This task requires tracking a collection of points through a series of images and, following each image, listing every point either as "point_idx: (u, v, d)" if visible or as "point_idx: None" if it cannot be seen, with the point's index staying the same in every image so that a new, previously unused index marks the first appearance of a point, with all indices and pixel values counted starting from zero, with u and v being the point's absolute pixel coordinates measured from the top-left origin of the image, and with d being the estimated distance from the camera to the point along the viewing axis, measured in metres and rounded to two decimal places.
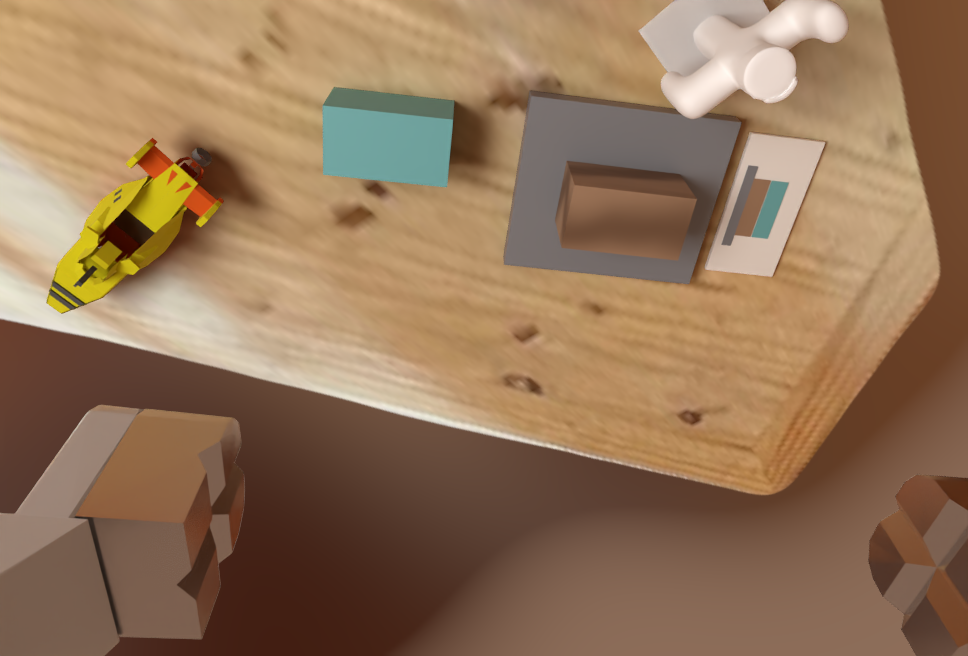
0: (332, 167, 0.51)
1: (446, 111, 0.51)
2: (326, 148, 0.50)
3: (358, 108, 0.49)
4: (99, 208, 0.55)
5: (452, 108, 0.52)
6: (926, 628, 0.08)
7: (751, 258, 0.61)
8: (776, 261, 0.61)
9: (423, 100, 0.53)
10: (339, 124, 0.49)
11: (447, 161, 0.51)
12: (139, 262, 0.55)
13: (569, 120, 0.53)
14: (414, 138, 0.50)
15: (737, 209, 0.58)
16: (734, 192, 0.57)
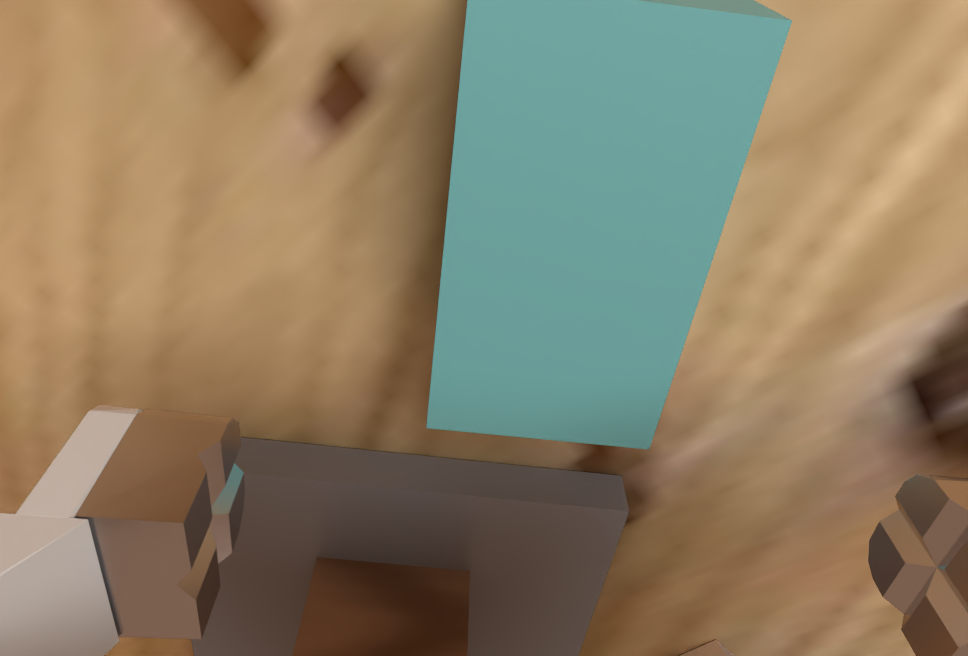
0: (504, 30, 0.11)
1: None
2: (595, 12, 0.11)
3: None
4: None
5: None
6: (926, 628, 0.08)
7: None
8: None
9: None
10: (695, 88, 0.11)
11: (515, 432, 0.16)
12: None
13: (564, 572, 0.23)
14: (603, 348, 0.14)
15: None
16: None
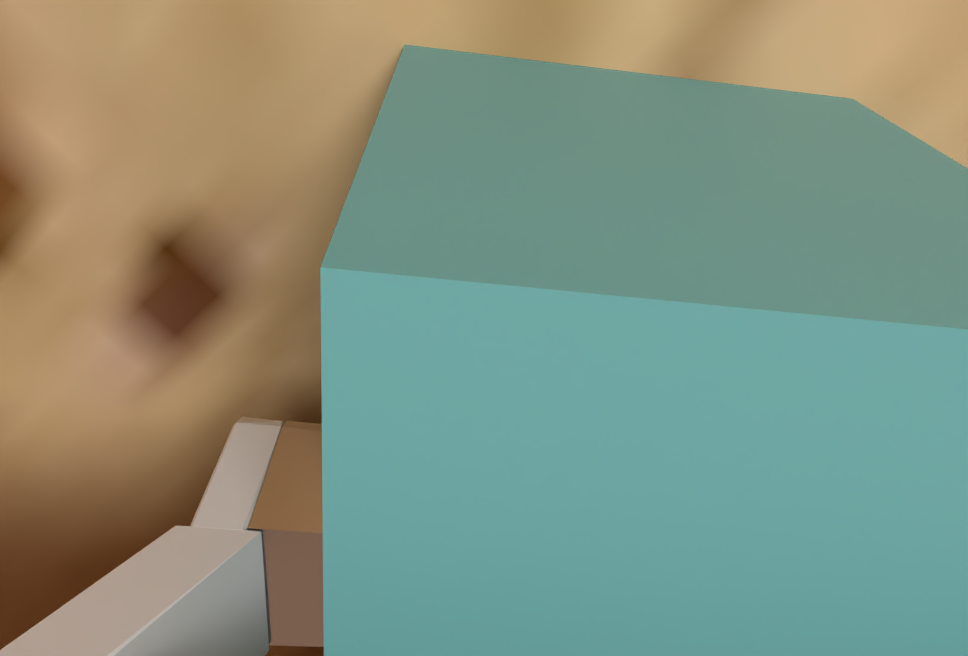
0: (438, 388, 0.04)
1: None
2: (710, 344, 0.04)
3: None
4: None
5: None
6: None
7: None
8: None
9: None
10: (960, 500, 0.04)
11: None
12: None
13: None
14: None
15: None
16: None
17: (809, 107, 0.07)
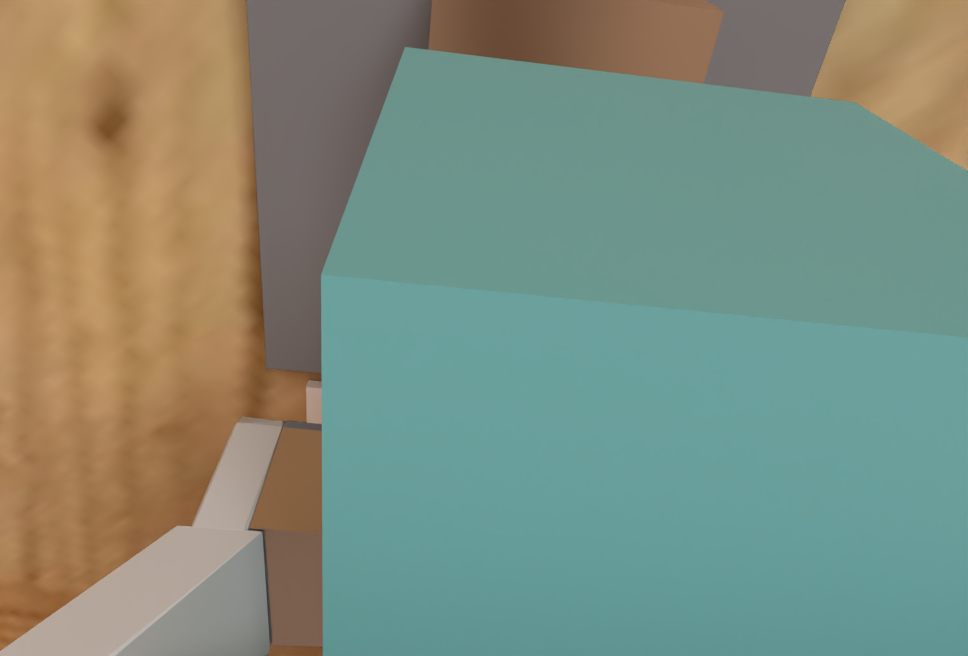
0: (439, 396, 0.04)
1: None
2: (715, 353, 0.04)
3: None
4: None
5: None
6: None
7: None
8: None
9: None
10: (966, 510, 0.04)
11: None
12: None
13: None
14: None
15: None
16: None
17: (812, 111, 0.07)
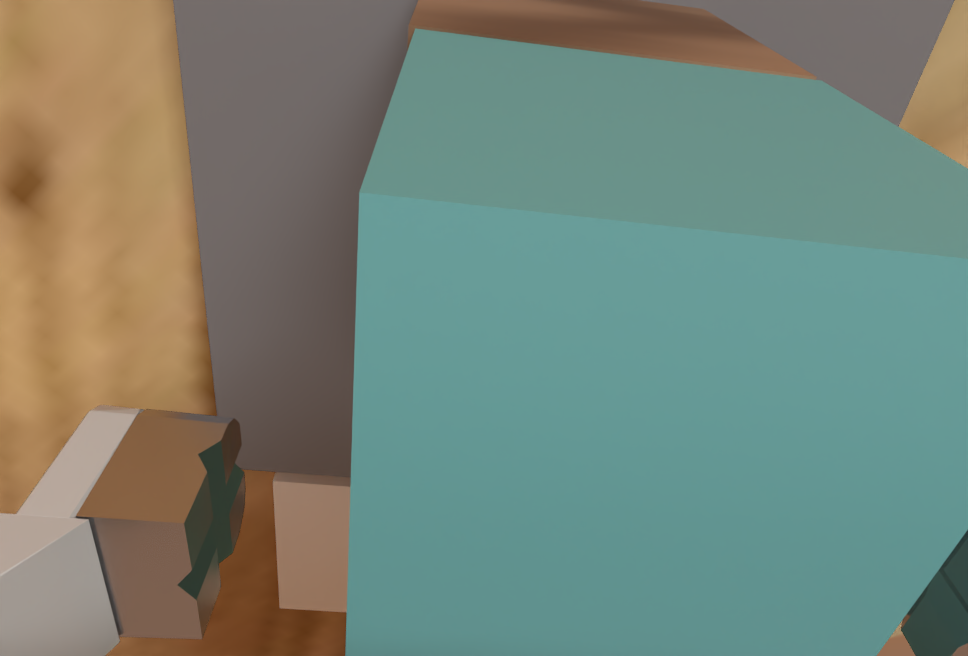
0: (452, 300, 0.05)
1: None
2: (677, 262, 0.04)
3: None
4: None
5: None
6: (926, 628, 0.08)
7: (324, 564, 0.23)
8: (323, 607, 0.24)
9: None
10: (892, 405, 0.05)
11: None
12: None
13: (873, 9, 0.13)
14: None
15: None
16: None
17: (781, 86, 0.08)
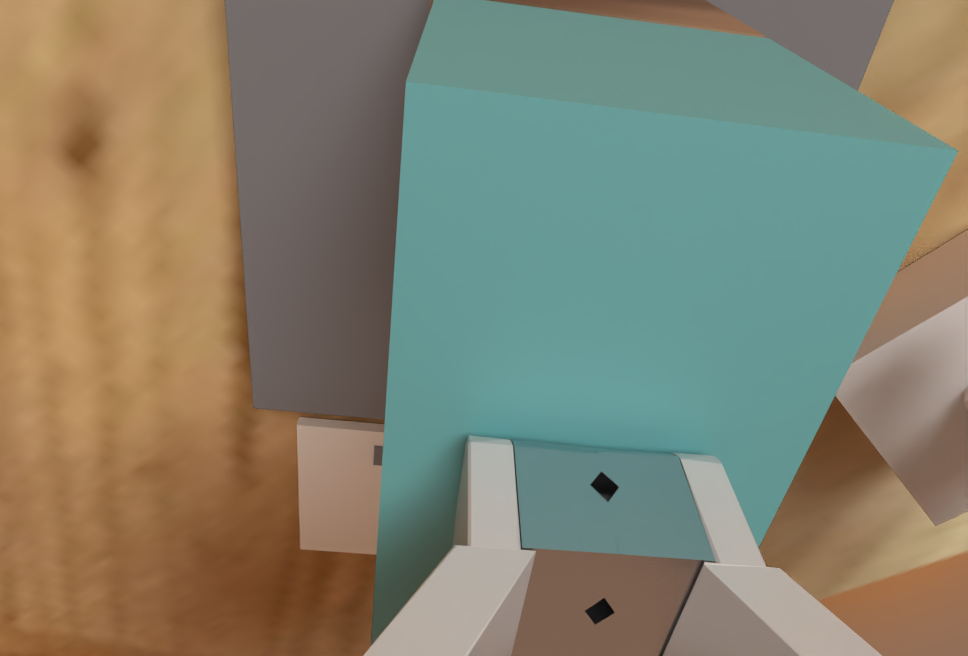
0: (468, 163, 0.06)
1: None
2: (625, 135, 0.06)
3: None
4: None
5: None
6: None
7: (342, 506, 0.25)
8: (340, 549, 0.26)
9: None
10: (785, 251, 0.07)
11: None
12: None
13: None
14: None
15: None
16: None
17: (732, 40, 0.10)
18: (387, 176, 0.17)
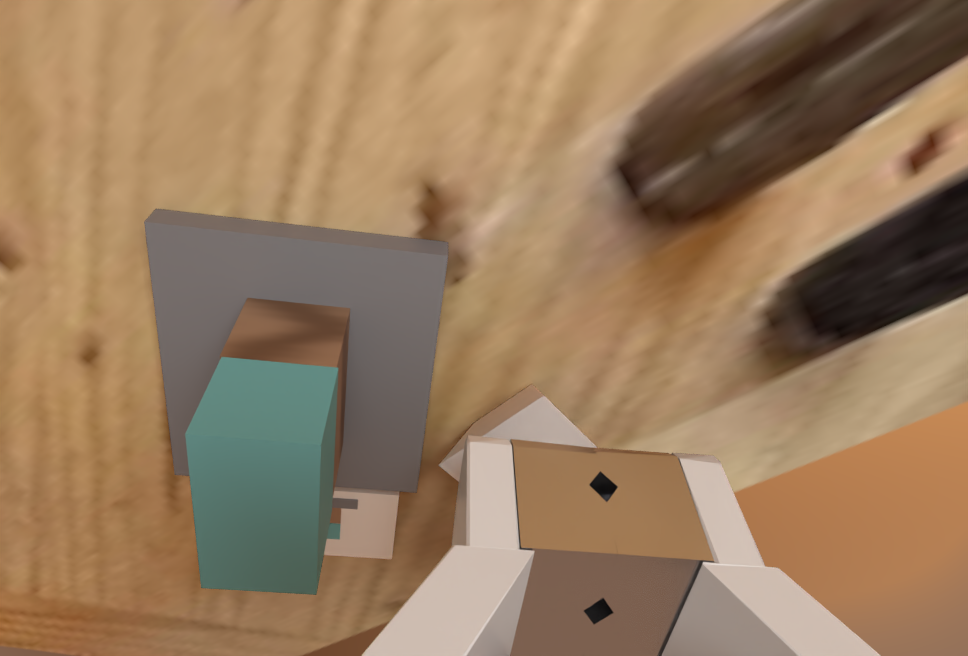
0: (203, 448, 0.27)
1: (322, 554, 0.33)
2: (239, 442, 0.27)
3: (320, 486, 0.28)
4: None
5: (325, 544, 0.34)
6: None
7: None
8: None
9: (330, 493, 0.34)
10: (289, 465, 0.27)
11: (246, 588, 0.31)
12: None
13: (412, 308, 0.35)
14: (279, 554, 0.30)
15: None
16: None
17: (318, 374, 0.31)
18: None
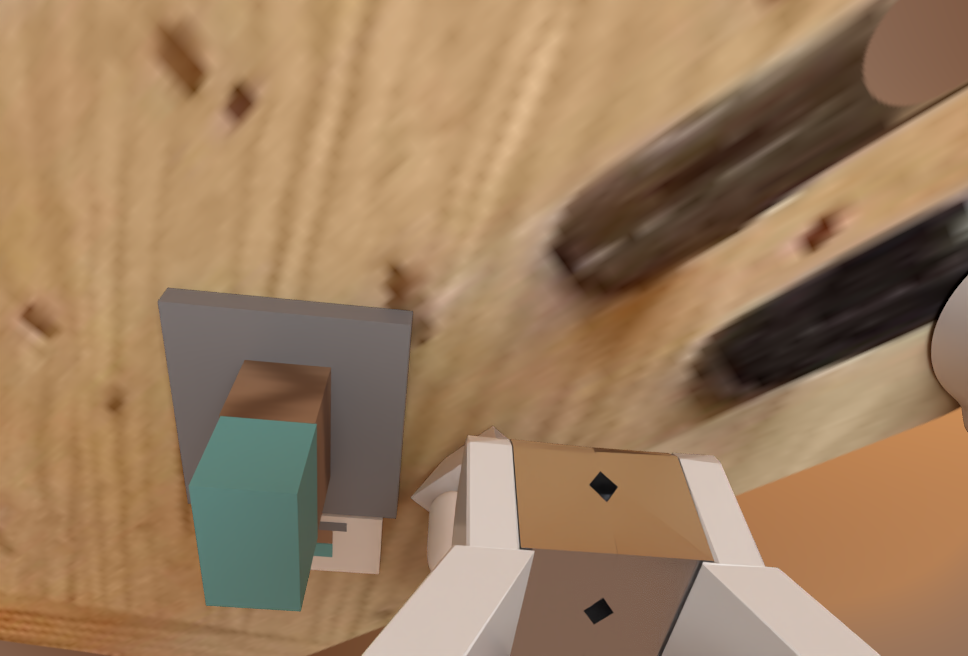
0: (203, 496, 0.33)
1: (307, 577, 0.39)
2: (232, 492, 0.33)
3: (299, 525, 0.35)
4: None
5: (310, 568, 0.40)
6: None
7: None
8: None
9: (313, 525, 0.40)
10: (272, 509, 0.34)
11: (243, 606, 0.38)
12: None
13: (383, 367, 0.42)
14: (268, 578, 0.37)
15: None
16: None
17: (299, 431, 0.37)
18: None
